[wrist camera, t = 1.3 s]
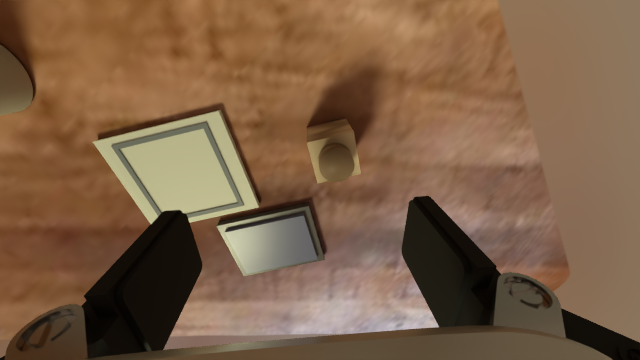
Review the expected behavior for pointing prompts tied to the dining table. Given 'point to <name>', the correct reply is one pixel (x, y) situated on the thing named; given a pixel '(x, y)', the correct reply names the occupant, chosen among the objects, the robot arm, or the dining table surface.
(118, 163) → the board
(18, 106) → the travel mug
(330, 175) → the stamp
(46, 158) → the dining table surface
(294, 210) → the grey flat block
